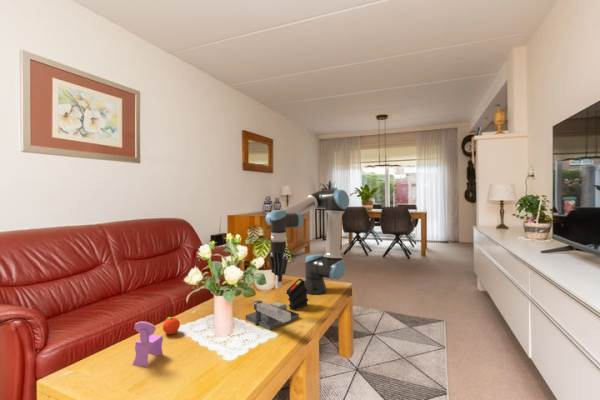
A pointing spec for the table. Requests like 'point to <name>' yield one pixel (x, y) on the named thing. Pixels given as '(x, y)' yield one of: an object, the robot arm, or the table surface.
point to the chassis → (269, 321)
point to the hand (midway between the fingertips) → (278, 287)
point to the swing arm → (272, 311)
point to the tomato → (171, 325)
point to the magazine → (297, 295)
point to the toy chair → (146, 343)
